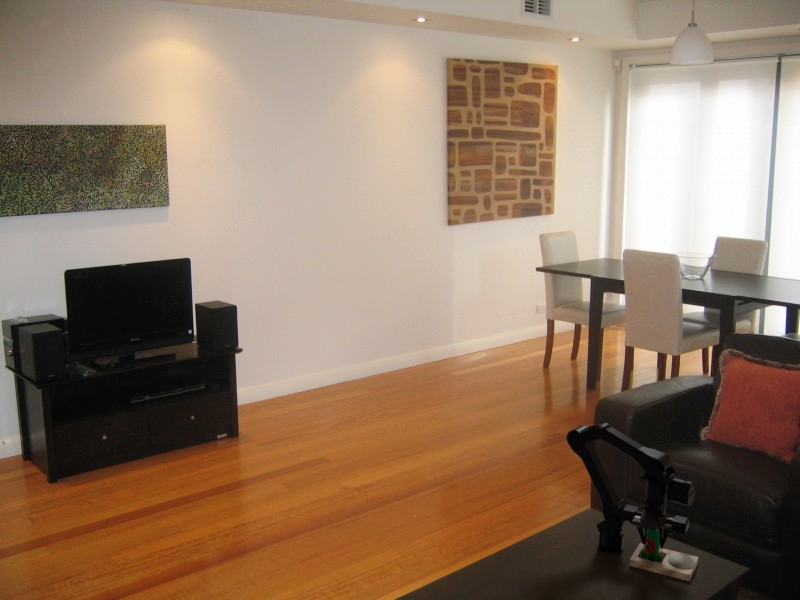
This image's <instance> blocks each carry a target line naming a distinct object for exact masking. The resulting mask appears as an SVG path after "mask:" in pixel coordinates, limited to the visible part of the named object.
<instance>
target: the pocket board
mask: <svg viewBox="0 0 800 600" xmlns="http://www.w3.org/2000/svg"><path fill="white" fill-rule="evenodd" d="M643 550H644V544H642V542H639V544H638V546H637V547H636V548H635V551H634V552H633V554H632V555H631V557H630V559H629V567H633V568H636V569H640V570H644V571H648V572H652V573H656V574H661V575H664V576H667V577H672V578H675V579H677V580H678V579H679V580H683V581H687V582H690V581H691V580H692V577H693V575H694V573H695V570H696V568H697V566H698V564H699V556H698V555H697V556H696V555H693V554H692V555H691V554H688V553H685V552H681V551H676V550H670V549H668V548H664V547H663V549H662V551H661V559H662V561H661V562H660V563H658V562H654V561H650V560H646V559H643ZM641 557H642V558H641Z"/></svg>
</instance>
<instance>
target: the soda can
mask: <svg viewBox="0 0 800 600" xmlns="http://www.w3.org/2000/svg"><path fill="white" fill-rule="evenodd" d="M663 530H664V527H661V528H660V527H658V530H656V531H653V530H650V529H646V528H645V535H644V550H643V554H642V559H646V560H650V561H654V562H658V563H662V561H661V560H662V558H661V551H662V548H661V543H662V538H663Z"/></svg>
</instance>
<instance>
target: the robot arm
mask: <svg viewBox="0 0 800 600" xmlns="http://www.w3.org/2000/svg"><path fill="white" fill-rule="evenodd" d="M565 438H566V439H565V440H566V442H567V444H568V445H569V448H570V449H571V450H572V452H573V453H574V454H575V455H577V456H578V457H579V459H581V460H582V463H583V466H584V467H585V468H586V471H587V473H588V476H589V477H590V480H591V481H592V484H593V486H594V488H595V490H596V492H597V494H598V496H599V498H600V501H601V511H602V512H601V513H602V515H603V519H602V520H601V521H600V522H599V523H597V524H596V528H597V531H598V532H599V534H598V536H599V537H598V545H597V547H596V549H597V550H599V551H604V552H608V553H611V554H616V555H619V553H620V552H621V551H622V550H623V548H624V547H625V546H624V545H625V534H624V531H623V527H625V525H628V523H629V522H630V523H631V525H633V526H635V527H636V529H637V531H638V534H639V537H640V541H641V543H642V544H644V535H645V528H646V529H650V530H653V531H656V530H658V527H660V528H661V527H663V537H662V543H661V548H662V549H663V548H664V547H665V544H666V543H667V540H668V538H669V536H670V535H671V534H672V535H673V534H674V533H677V534H678V533H679V534H684V535H686V533H687V532H688V530H689V527H690V519H689V518H688V517H685V516H681V515H675V516H674V518H673V517H667V516H666V510H667V509H666V506H667V500H669V501H670V502H674V503H677V504H681V505H684V506H688V507H692V505H693V503H694V500H695V496H696V491H695V486H694V485H693V484H694V483H693V481H690V480H684V479H681V478H678V477H679V475H678V473H677V471H676V470H675V468H674V467H673V465H672V461H671V457H670V456H669V455H668V454H666V453H665V452H662V451H659V450H657V449H655V448H650V447H646V446H644V445H643V444H640V443H639V442H637V441H635V440H634V439H632V438H631V437H629V436H627V435H625V434H624V433H622V432H621V431H619V430H617V429H616V428H614V427H613V426H612V425H611V424H609V423H607V422H604V423H602V424H594V425H593V424H592V425H589V426H588V425H587V426H586V425H584V424H583V425H578V426H577V427H575V428H573V429H571V430H570V431H568V433H567V434H566V437H565ZM598 440H603V441H604V442H605V443H607V444H608V445H611V446H612V447H613V448H615V449H617V450H619V451H620V452H621V453H623V454H625V455H626V456H628V457H630V458H631V459H633V460H634V461H636V462H637V464H638V465H639V467H640V468H641V469H642V470H643V471H644V473H643V474H642V475H640V476H639V479H640V480H643V481H646V486H645V487H646V488H645V490H646V491H645V500H644V507H643V509H642V511H639V509H640V508H639V506H635V505H631V504H629V502H628V500H627V498H626V497H625V498H622V499H621V498H620V496H618V495H617V494H616V492H615V489H614V488H613V487H614V486H613V485H612V483H611V481H610V479H609V477H608V475H607V472H606V471H605V469H604V466H603V464H602V461H601V460H600V458H599V455H598V454H597V451H596V441H598ZM665 473H666V475H665Z"/></svg>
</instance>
